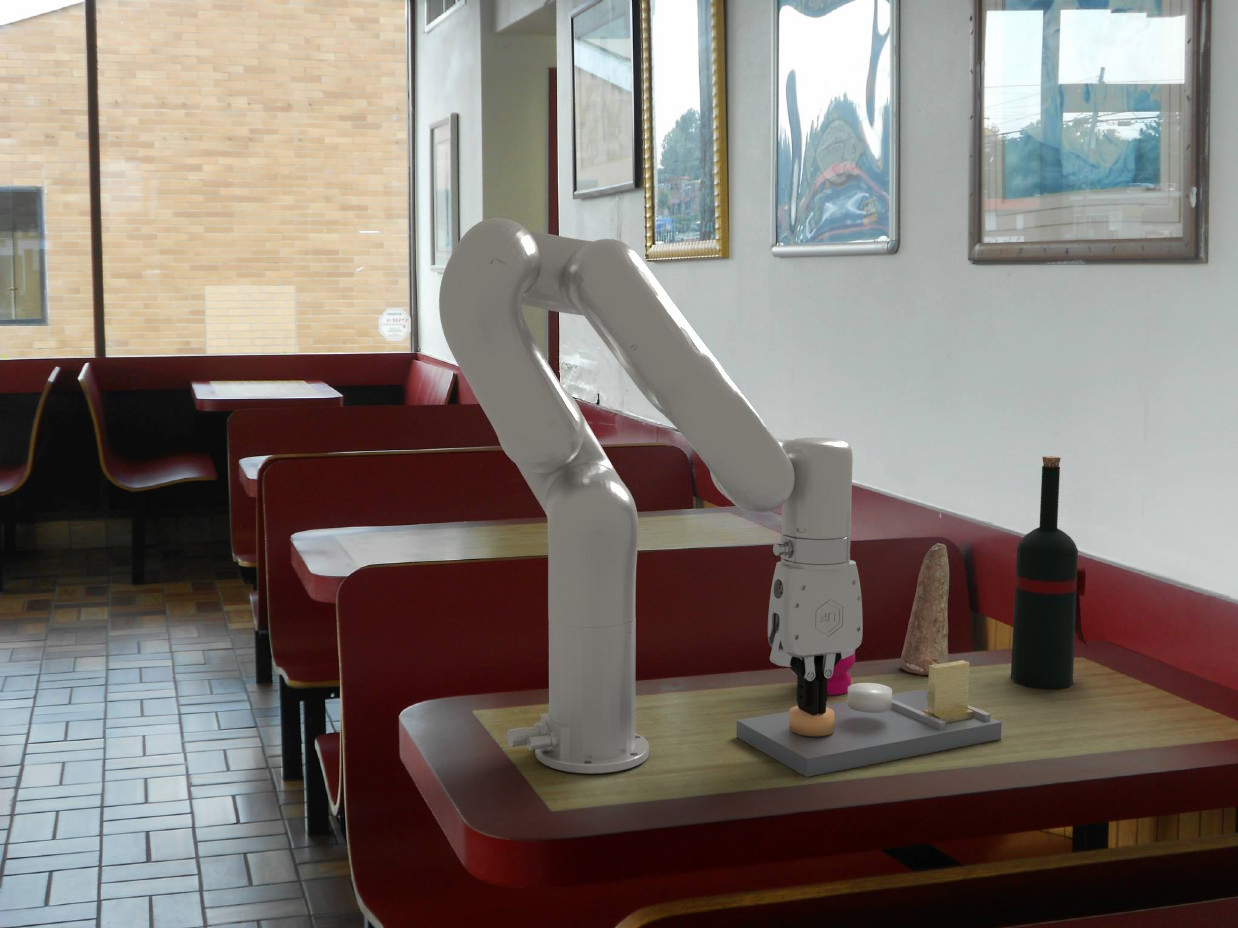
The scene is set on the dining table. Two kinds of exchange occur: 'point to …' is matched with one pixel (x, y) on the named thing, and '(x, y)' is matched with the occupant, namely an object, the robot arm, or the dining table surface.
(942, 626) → the brown speckled elongated rod
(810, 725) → the orange button
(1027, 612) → the wine bottle
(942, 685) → the brass paddle
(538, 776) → the dining table surface
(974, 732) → the control panel
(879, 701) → the white knob
